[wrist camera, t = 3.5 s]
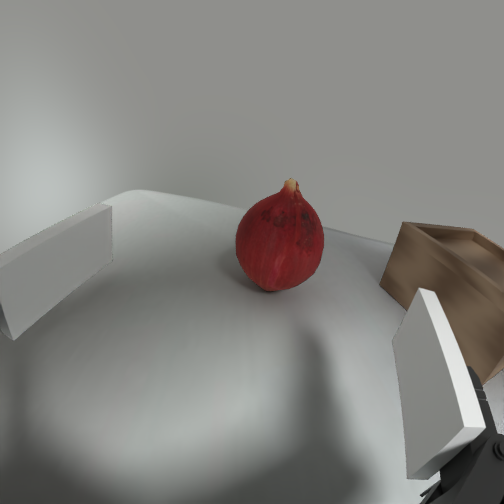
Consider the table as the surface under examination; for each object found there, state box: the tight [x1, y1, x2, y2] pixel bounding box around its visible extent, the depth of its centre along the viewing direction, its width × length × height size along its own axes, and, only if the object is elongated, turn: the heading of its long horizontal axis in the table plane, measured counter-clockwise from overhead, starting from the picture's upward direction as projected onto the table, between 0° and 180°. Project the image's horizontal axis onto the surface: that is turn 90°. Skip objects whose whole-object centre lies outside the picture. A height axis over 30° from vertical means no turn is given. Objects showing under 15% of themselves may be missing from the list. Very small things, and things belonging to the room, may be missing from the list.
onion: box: [236, 178, 324, 291], centre depth 21 cm, size 6×6×8 cm
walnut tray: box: [379, 222, 504, 385], centre depth 22 cm, size 13×13×6 cm
